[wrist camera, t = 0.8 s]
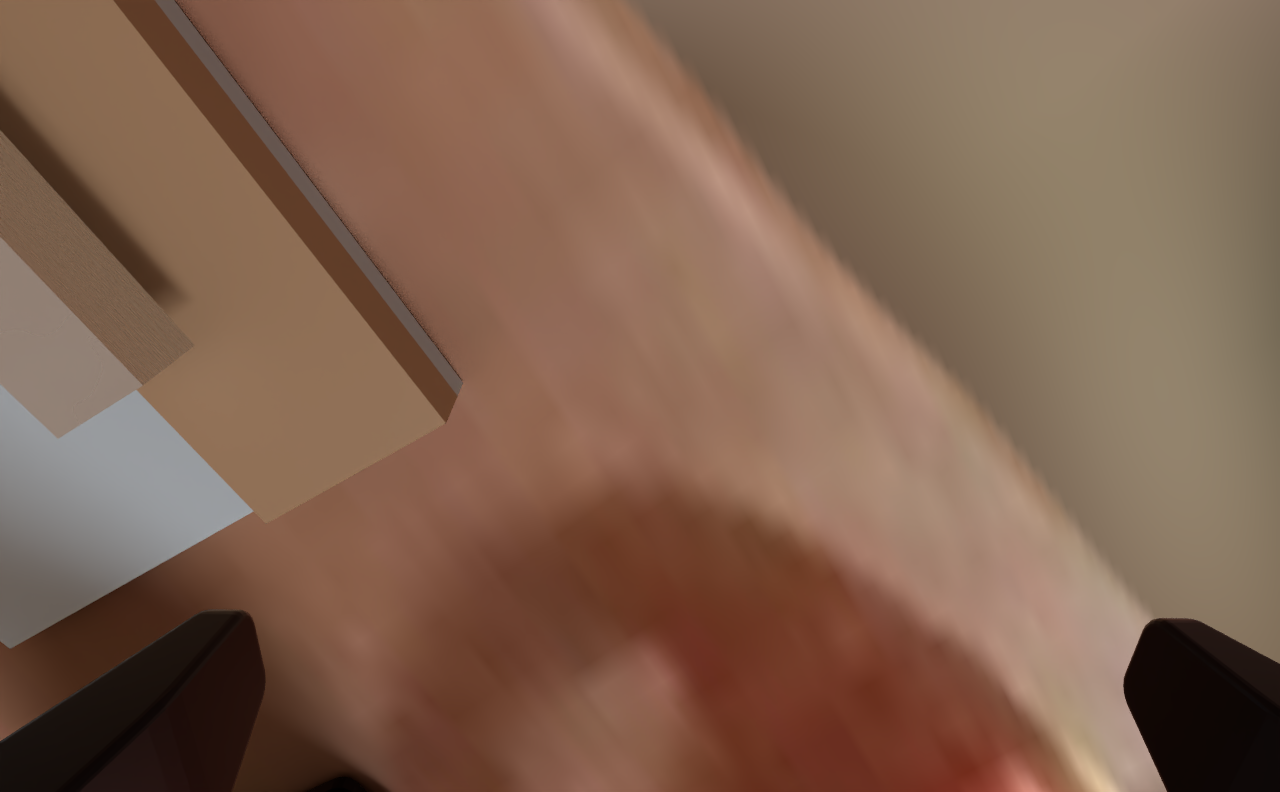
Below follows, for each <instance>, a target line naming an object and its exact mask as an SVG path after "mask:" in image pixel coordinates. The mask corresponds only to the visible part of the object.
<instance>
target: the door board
mask: <svg viewBox="0 0 1280 792" xmlns="http://www.w3.org/2000/svg"><path fill="white" fill-rule="evenodd" d="M0 130H1V131H2V133H3V134H4V135H5V136H6V137H7V138H8V139H9V140H10V141H11V143H12V144H13V145H14V146H15V147H16V148H17V149H18V150H19V151H20V152H21V154H22V155H23V156H24V157H25V158H26V159H27V160H28V161H29V162H30V164H31V165H32V166H33V167H34V168H35V169H36V170H37V171H38V172H39V173H40V175H41V176H42V177H43V178H44V179H45V180H46V181H47V182H48V183H49V185H50V186H51V187H52V188H53V189H54V190H55V191H56V192H57V193H58V194H59V196H60V197H61V198H62V199H63V200H64V201H65V202H66V203H67V204H68V206H69V207H70V208H71V209H72V210H73V211H74V212H75V213H76V214H77V216H78V217H79V218H80V219H81V220H82V221H83V222H84V223H85V224H86V225H87V227H88V228H89V229H90V230H91V231H92V232H93V233H94V234H95V235H96V237H97V238H98V239H99V240H100V241H101V242H102V243H103V244H104V245H105V246H106V248H107V249H108V250H109V251H110V252H111V253H112V254H113V255H114V256H115V258H116V259H117V260H118V261H119V262H120V263H121V264H122V265H123V266H124V267H125V269H126V270H127V271H128V272H129V273H130V274H131V275H132V276H133V277H134V279H135V280H136V281H137V282H138V283H139V284H140V285H141V286H142V287H143V288H144V290H145V291H146V292H147V293H148V294H149V295H150V296H151V297H152V298H153V300H154V301H155V302H156V303H157V304H158V305H159V306H160V307H161V308H162V310H163V311H164V312H165V313H166V314H167V315H168V316H169V317H170V318H171V319H172V321H173V322H174V323H175V324H176V325H177V326H178V327H179V328H180V329H181V331H182V332H183V333H184V334H185V335H186V336H187V337H188V338H189V339H190V340H191V342H192V343H193V344H194V345H195V346H193V347H192V348H191V349H189V350H188V351H187V352H186V353H184V354H183V355H182V356H180V357H179V358H178V359H177V360H175V361H174V362H173V363H171V364H170V365H169V366H168V367H166V368H165V369H164V370H162V371H161V372H160V373H159V374H157V375H156V376H155V377H153V378H152V379H151V380H149V381H148V382H147V383H146V384H144V385H143V386H141V387H140V388H138V389H137V390H135V391H133V392H132V393H130V394H129V395H127V396H126V397H124V398H122V399H121V400H119V401H118V402H116V403H114V404H113V405H111V406H110V407H108V408H106V409H105V410H103V411H102V412H100V413H99V414H97V415H95V416H94V417H92V418H91V419H89V420H87V421H86V422H84V423H83V424H81V425H79V426H78V427H76V428H75V429H73V430H71V431H70V432H68V433H67V434H65V435H64V436H62V437H60V438H59V439H57V438H56V437H55V436H54V435H53V434H52V433H51V432H50V431H49V430H48V429H47V428H46V427H45V426H44V425H43V424H42V423H41V422H39V421H38V420H37V419H36V418H35V417H34V416H33V415H32V414H31V413H30V412H29V411H28V410H27V409H26V408H25V407H24V406H23V405H22V404H21V403H20V402H18V401H17V400H16V399H15V398H14V397H13V396H12V395H11V394H10V393H9V392H8V391H7V390H6V389H5V388H4V387H3V386H2V385H1V384H0V641H1V642H2V643H3V644H4V645H6V646H7V647H8V648H9V649H11V648H13V647H14V646H16V645H18V644H20V643H22V642H23V641H25V640H27V639H29V638H30V637H32V636H34V635H36V634H37V633H39V632H41V631H43V630H44V629H46V628H48V627H50V626H52V625H53V624H55V623H57V622H59V621H60V620H62V619H64V618H66V617H67V616H69V615H71V614H73V613H75V612H76V611H78V610H80V609H82V608H83V607H85V606H87V605H89V604H90V603H92V602H94V601H96V600H98V599H99V598H101V597H103V596H105V595H106V594H108V593H110V592H112V591H113V590H115V589H117V588H119V587H120V586H122V585H124V584H126V583H128V582H129V581H131V580H133V579H135V578H136V577H138V576H140V575H142V574H143V573H145V572H147V571H149V570H151V569H152V568H154V567H156V566H158V565H159V564H161V563H163V562H165V561H166V560H168V559H170V558H172V557H174V556H175V555H177V554H179V553H181V552H182V551H184V550H186V549H188V548H189V547H191V546H193V545H195V544H196V543H198V542H200V541H202V540H204V539H205V538H207V537H209V536H211V535H212V534H214V533H216V532H218V531H219V530H221V529H223V528H225V527H227V526H228V525H230V524H232V523H234V522H235V521H237V520H239V519H241V518H242V517H244V516H246V515H248V514H250V513H251V512H253V511H254V512H255V513H256V514H257V515H258V516H259V517H260V518H261V519H262V520H263V521H264V522H265V523H266V524H267V523H269V522H270V521H272V520H274V519H276V518H278V517H279V516H281V515H283V514H285V513H287V512H288V511H290V510H292V509H294V508H296V507H297V506H299V505H301V504H303V503H304V502H306V501H308V500H310V499H312V498H313V497H315V496H317V495H319V494H321V493H322V492H324V491H326V490H328V489H329V488H331V487H333V486H335V485H337V484H338V483H340V482H342V481H344V480H346V479H347V478H349V477H351V476H353V475H355V474H356V473H358V472H360V471H362V470H363V469H365V468H367V467H369V466H371V465H372V464H374V463H376V462H378V461H380V460H381V459H383V458H385V457H387V456H388V455H390V454H392V453H394V452H396V451H397V450H399V449H401V448H403V447H405V446H406V445H408V444H410V443H412V442H414V441H415V440H417V439H419V438H421V437H422V436H424V435H426V434H428V433H430V432H431V431H433V430H435V429H437V428H439V427H440V426H442V425H444V424H446V422H447V420H448V417H449V415H450V413H451V410H452V408H453V405H454V403H455V401H456V398H457V396H458V394H459V391H460V389H461V386H462V384H463V382H462V381H461V379H460V378H459V377H458V375H457V374H456V373H455V371H454V370H453V369H452V367H451V366H450V365H449V363H448V362H447V361H446V359H445V358H444V357H443V355H442V354H441V353H440V351H439V350H438V349H437V347H436V346H435V345H434V343H433V342H432V341H431V339H430V338H429V337H428V336H427V334H426V333H425V332H424V330H423V329H422V328H421V326H420V325H419V324H418V322H417V321H416V320H415V318H414V317H413V316H412V314H411V313H410V312H409V310H408V309H407V308H406V306H405V305H404V304H403V302H402V301H401V300H400V298H399V297H398V296H397V294H396V293H395V292H394V291H393V289H392V288H391V287H390V285H389V284H388V283H387V281H386V280H385V279H384V277H383V276H382V275H381V273H380V272H379V271H378V269H377V268H376V267H375V265H374V264H373V263H372V261H371V260H370V259H369V257H368V256H367V255H366V253H365V252H364V251H363V249H362V248H361V247H360V246H359V244H358V243H357V242H356V240H355V239H354V238H353V236H352V235H351V234H350V232H349V231H348V230H347V228H346V227H345V226H344V224H343V223H342V222H341V220H340V219H339V218H338V216H337V215H336V214H335V212H334V211H333V210H332V208H331V207H330V206H329V205H328V203H327V202H326V201H325V199H324V198H323V197H322V195H321V194H320V193H319V191H318V190H317V189H316V187H315V186H314V185H313V183H312V182H311V181H310V179H309V178H308V177H307V175H306V174H305V173H304V171H303V170H302V169H301V167H300V166H299V165H298V163H297V162H296V161H295V160H294V158H293V157H292V156H291V154H290V153H289V152H288V150H287V149H286V148H285V146H284V145H283V144H282V142H281V141H280V140H279V138H278V137H277V136H276V134H275V133H274V132H273V130H272V129H271V128H270V126H269V125H268V124H267V122H266V121H265V120H264V118H263V117H262V116H261V115H260V113H259V112H258V111H257V109H256V108H255V107H254V105H253V104H252V103H251V101H250V100H249V99H248V97H247V96H246V95H245V93H244V92H243V91H242V89H241V88H240V87H239V85H238V84H237V83H236V81H235V80H234V79H233V77H232V76H231V75H230V73H229V72H228V71H227V70H226V68H225V67H224V66H223V64H222V63H221V62H220V60H219V59H218V58H217V56H216V55H215V54H214V52H213V51H212V50H211V48H210V47H209V46H208V44H207V43H206V42H205V40H204V39H203V38H202V36H201V35H200V34H199V32H198V31H197V30H196V28H195V27H194V26H193V25H192V23H191V22H190V21H189V19H188V18H187V17H186V15H185V14H184V13H183V11H182V10H181V9H180V7H179V6H178V5H177V3H176V2H175V1H174V0H0Z"/></svg>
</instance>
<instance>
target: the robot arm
mask: <svg viewBox="0 0 1280 792" xmlns="http://www.w3.org/2000/svg"><path fill="white" fill-rule="evenodd" d="M1123 687H1124V695H1125V699H1126V702H1127V705H1128V707H1129V709H1130V711H1131V714H1132V716H1133V718H1134V720H1135V722H1136V724H1137V727H1138V729H1139V731H1140V733H1141V735H1142V738H1143V740H1144V742H1145V744H1146V746H1147V748H1148V751H1149V753H1150V755H1151V757H1152V759H1153V762H1154V764H1155V766H1156V768H1157V770H1158V772H1159V775H1160V777H1161V779H1162V781H1163V783H1164V786H1165V788H1166V790H1167V792H1280V664H1279V663H1277V662H1275V661H1273V660H1271V659H1270V658H1268V657H1266V656H1264V655H1262V654H1260V653H1258V652H1257V651H1255V650H1253V649H1251V648H1249V647H1247V646H1245V645H1243V644H1242V643H1239V642H1238V641H1236V640H1234V639H1232V638H1230V637H1228V636H1227V635H1225V634H1223V633H1221V632H1219V631H1217V630H1215V629H1213V628H1212V627H1210V626H1208V625H1206V624H1204V623H1202V622H1200V621H1197V620H1194V619H1187V618H1158V619H1154V620H1151V621H1150V622H1149V623H1148V624H1147V625H1146V626H1145V627H1144V629H1143V631H1142V634H1141V636H1140V639H1139V641H1138V644H1137V646H1136V648H1135V651H1134V653H1133V656H1132V658H1131V661H1130V663H1129V666H1128V668H1127V671H1126V673H1125V677H1124V684H1123ZM264 690H265V670H264V665H263V661H262V656H261V652H260V647H259V643H258V638H257V634H256V629H255V625H254V622H253V619H252V617H251V615H250V614H249V613H248V612H246V611H243V610H205V611H202V612H200V613H198V614H196V615H194V616H193V617H191V618H190V619H188V620H187V621H185V622H183V623H182V624H180V625H179V626H177V627H176V628H174V629H173V630H171V631H170V632H168V633H166V634H165V635H163V636H162V637H160V638H159V639H157V640H156V641H154V642H153V643H151V644H150V645H148V646H146V647H145V648H143V649H142V650H140V651H139V652H137V653H136V654H134V655H133V656H131V657H129V658H128V659H126V660H125V661H123V662H122V663H120V664H119V665H117V666H116V667H114V668H113V669H111V670H109V671H108V672H106V673H105V674H103V675H102V676H100V677H99V678H97V679H96V680H94V681H92V682H91V683H89V684H88V685H86V686H85V687H83V688H82V689H80V690H79V691H77V692H75V693H74V694H72V695H71V696H69V697H68V698H66V699H65V700H63V701H62V702H60V703H59V704H57V705H55V706H54V707H52V708H51V709H49V710H48V711H46V712H45V713H43V714H42V715H40V716H38V717H37V718H35V719H34V720H32V721H31V722H29V723H28V724H26V725H25V726H23V727H21V728H20V729H18V730H17V731H15V732H14V733H12V734H11V735H9V736H8V737H6V738H5V739H3V740H1V741H0V792H232V790H233V787H234V784H235V781H236V778H237V775H238V772H239V769H240V766H241V763H242V760H243V757H244V754H245V751H246V748H247V745H248V742H249V739H250V736H251V733H252V730H253V726H254V723H255V720H256V717H257V714H258V711H259V708H260V705H261V702H262V699H263V695H264ZM307 792H367V791H366V790H365V789H364V788H363V787H361V786H360V785H359V784H358V783H357V782H356V781H354V780H353V779H350V778H347V777H339V778H335V779H333V780H331V781H329V782H327V783H324V784H322V785H320V786H318V787H316V788H314V789H312V790H309V791H307Z"/></svg>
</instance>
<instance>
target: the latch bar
mask: <svg viewBox="0 0 1280 792" xmlns="http://www.w3.org/2000/svg"><path fill="white" fill-rule="evenodd" d="M193 346H195V345H194V344H193V343H192V342H191V340H190V339H189V338H188V337H187V336H186V335H185V334H184V333H183V332H182V331H181V329H180V328H179V327H178V326H177V325H176V324H175V323H174V322H173V321H172V319H171V318H170V317H169V316H168V315H167V314H166V313H165V312H164V311H163V310H162V308H161V307H160V306H159V305H158V304H157V303H156V302H155V301H154V300H153V298H152V297H151V296H150V295H149V294H148V293H147V292H146V291H145V290H144V288H143V287H142V286H141V285H140V284H139V283H138V282H137V281H136V280H135V279H134V277H133V276H132V275H131V274H130V273H129V272H128V271H127V270H126V269H125V267H124V266H123V265H122V264H121V263H120V262H119V261H118V260H117V259H116V258H115V256H114V255H113V254H112V253H111V252H110V251H109V250H108V249H107V248H106V246H105V245H104V244H103V243H102V242H101V241H100V240H99V239H98V238H97V237H96V235H95V234H94V233H93V232H92V231H91V230H90V229H89V228H88V227H87V225H86V224H85V223H84V222H83V221H82V220H81V219H80V218H79V217H78V216H77V214H76V213H75V212H74V211H73V210H72V209H71V208H70V207H69V206H68V204H67V203H66V202H65V201H64V200H63V199H62V198H61V197H60V196H59V194H58V193H57V192H56V191H55V190H54V189H53V188H52V187H51V186H50V185H49V183H48V182H47V181H46V180H45V179H44V178H43V177H42V176H41V175H40V173H39V172H38V171H37V170H36V169H35V168H34V167H33V166H32V165H31V164H30V162H29V161H28V160H27V159H26V158H25V157H24V156H23V155H22V154H21V152H20V151H19V150H18V149H17V148H16V147H15V146H14V145H13V144H12V143H11V141H10V140H9V139H8V138H7V137H6V136H5V135H4V134H3V133H2V131H1V130H0V384H1V385H2V386H3V387H4V388H5V389H6V390H7V391H8V392H9V393H10V394H11V395H12V396H13V397H14V398H15V399H16V400H17V401H18V402H20V403H21V404H22V405H23V406H24V407H25V408H26V409H27V410H28V411H29V412H30V413H31V414H32V415H33V416H34V417H35V418H36V419H37V420H38V421H39V422H41V423H42V424H43V425H44V426H45V427H46V428H47V429H48V430H49V431H50V432H51V433H52V434H53V435H54V436H55V437H56V438H57V439H59V438H60V437H62V436H64V435H65V434H67V433H68V432H70V431H71V430H73V429H75V428H76V427H78V426H79V425H81V424H83V423H84V422H86V421H87V420H89V419H91V418H92V417H94V416H95V415H97V414H99V413H100V412H102V411H103V410H105V409H106V408H108V407H110V406H111V405H113V404H114V403H116V402H118V401H119V400H121V399H122V398H124V397H126V396H127V395H129V394H130V393H132V392H133V391H135V390H137V389H138V388H140V387H141V386H143V385H144V384H146V383H147V382H148V381H149V380H151V379H152V378H153V377H155V376H156V375H157V374H159V373H160V372H161V371H162V370H164V369H165V368H166V367H168V366H169V365H170V364H171V363H173V362H174V361H175V360H177V359H178V358H179V357H180V356H182V355H183V354H184V353H186V352H187V351H188V350H189V349H191V348H192V347H193Z"/></svg>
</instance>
